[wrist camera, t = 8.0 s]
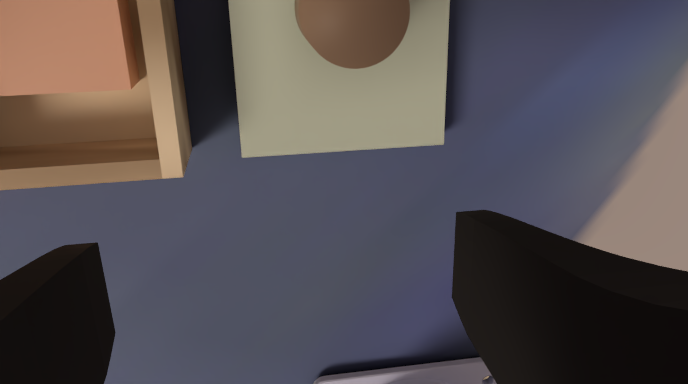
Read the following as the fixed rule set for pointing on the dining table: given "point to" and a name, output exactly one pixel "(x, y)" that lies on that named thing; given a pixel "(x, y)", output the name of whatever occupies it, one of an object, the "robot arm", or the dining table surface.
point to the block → (66, 46)
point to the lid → (339, 74)
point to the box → (105, 120)
